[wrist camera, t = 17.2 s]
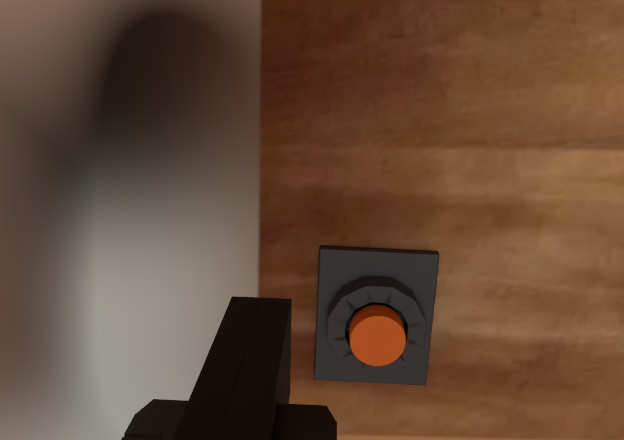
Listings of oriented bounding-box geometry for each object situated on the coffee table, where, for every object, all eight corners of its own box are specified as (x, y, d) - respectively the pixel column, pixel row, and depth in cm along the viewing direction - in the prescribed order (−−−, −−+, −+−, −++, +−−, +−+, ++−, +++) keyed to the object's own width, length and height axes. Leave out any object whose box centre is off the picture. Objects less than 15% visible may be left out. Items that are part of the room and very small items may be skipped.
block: (320, 245, 39) (319, 257, 36) (437, 251, 38) (444, 264, 36) (314, 374, 41) (313, 394, 39) (424, 380, 41) (429, 400, 39)
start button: (350, 302, 37) (351, 314, 36) (405, 305, 37) (408, 317, 36) (347, 351, 38) (348, 365, 37) (400, 354, 38) (403, 368, 37)
